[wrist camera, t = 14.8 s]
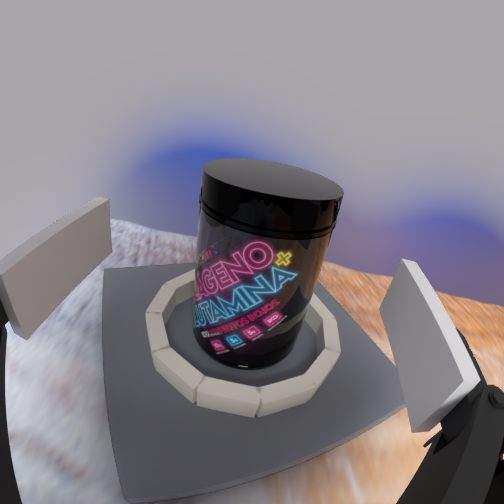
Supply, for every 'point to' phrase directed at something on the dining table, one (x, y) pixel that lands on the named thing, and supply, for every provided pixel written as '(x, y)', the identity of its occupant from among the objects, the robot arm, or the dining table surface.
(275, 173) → the supplement container
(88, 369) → the dining table surface
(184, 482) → the ring board
